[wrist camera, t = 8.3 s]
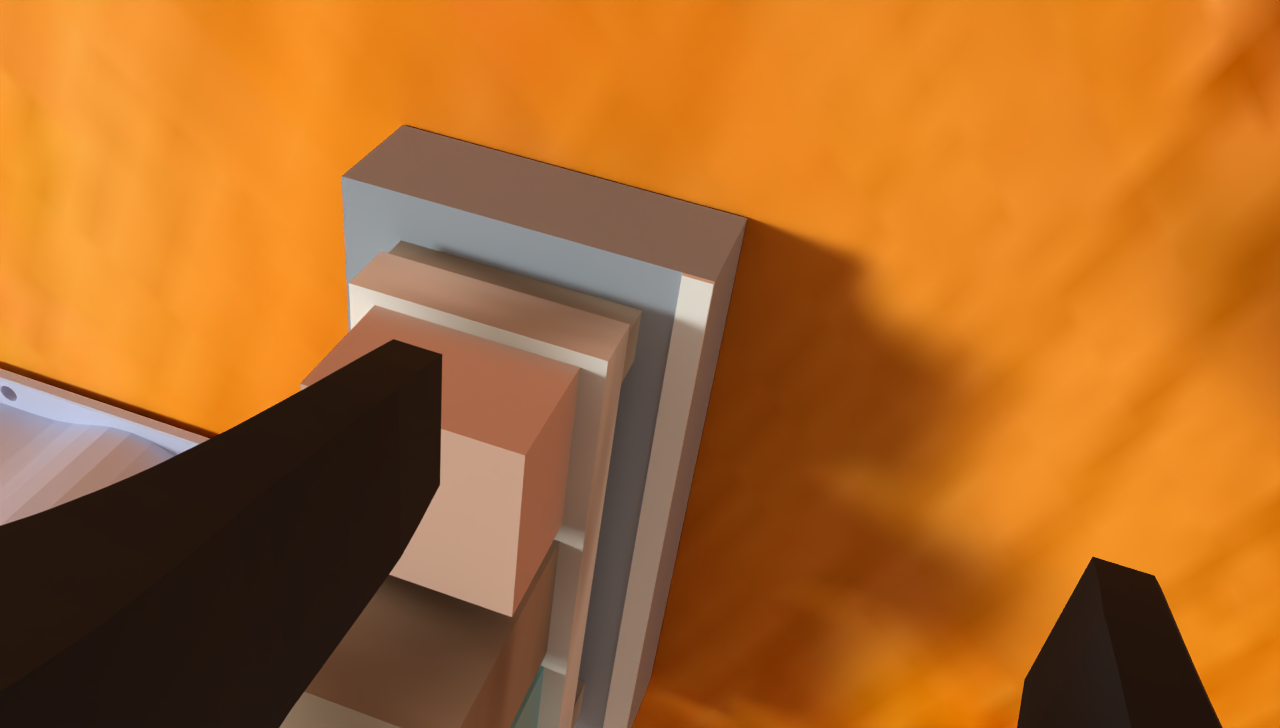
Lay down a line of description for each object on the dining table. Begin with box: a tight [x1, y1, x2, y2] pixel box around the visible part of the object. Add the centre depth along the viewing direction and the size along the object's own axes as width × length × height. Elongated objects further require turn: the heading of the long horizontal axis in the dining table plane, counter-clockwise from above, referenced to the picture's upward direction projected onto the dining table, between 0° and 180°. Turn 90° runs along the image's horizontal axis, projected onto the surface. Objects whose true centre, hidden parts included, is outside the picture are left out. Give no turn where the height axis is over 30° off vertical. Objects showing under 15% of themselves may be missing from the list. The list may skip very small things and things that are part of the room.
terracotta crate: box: [300, 305, 580, 617], centre depth 20 cm, size 4×4×2 cm
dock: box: [342, 125, 747, 728], centre depth 26 cm, size 8×15×3 cm, turn 173°
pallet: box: [279, 240, 642, 728], centre depth 23 cm, size 5×13×7 cm, turn 173°
